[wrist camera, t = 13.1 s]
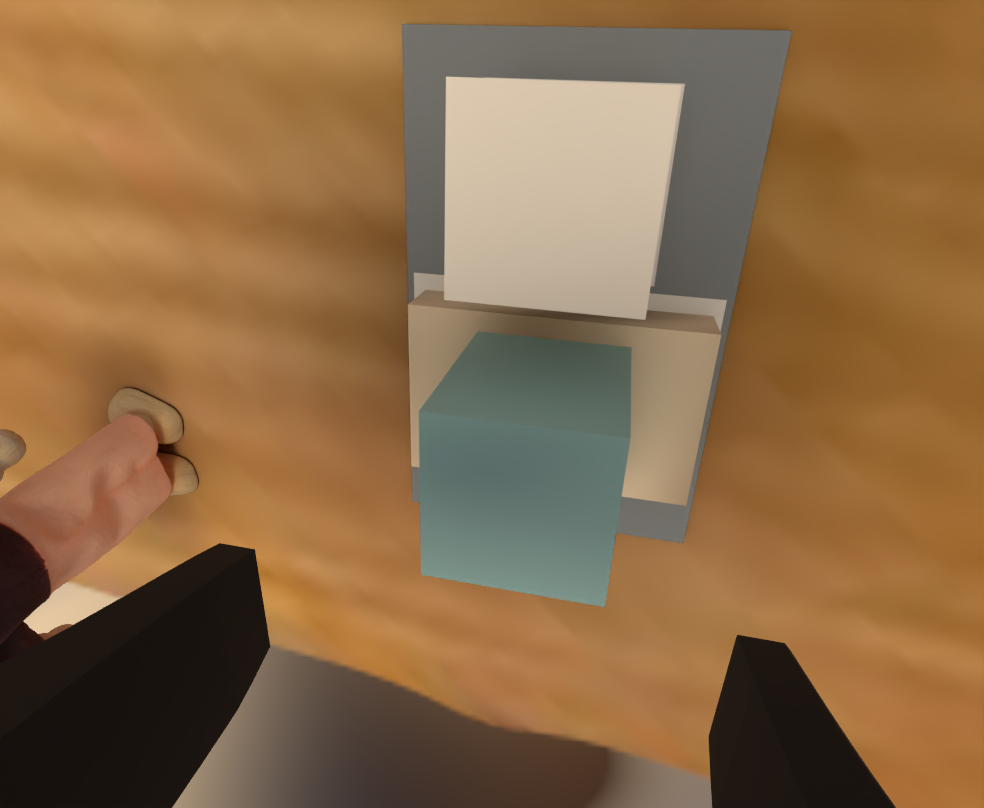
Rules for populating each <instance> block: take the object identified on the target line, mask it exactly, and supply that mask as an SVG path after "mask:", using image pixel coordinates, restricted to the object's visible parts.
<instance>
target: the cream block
mask: <svg viewBox="0 0 984 808" xmlns="http://www.w3.org/2000/svg"><path fill="white" fill-rule="evenodd" d="M681 86H682V85H664V84H636V83H609V82H582V81H554V80H527V79H499V78H472V77H446V134H445V254H444V300H451V301H461V302H471V303H481V304H491V305H501V306H511V307H521V308H531V309H541V310H551V311H561V312H571V313H581V314H591V315H601V316H611V317H621V318H631V319H641V320H645V319H646V313H647V307H648V300H649V294H650V287H651V281H652V274H653V268H654V261H655V255H656V248H657V242H658V235H659V229H660V222H661V216H662V209H663V203H664V196H665V190H666V184H667V177H668V171H669V164H670V158H671V151H672V145H673V138H674V132H675V125H676V119H677V112H678V106H679V99H680V93H681Z"/></svg>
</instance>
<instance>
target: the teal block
mask: <svg viewBox="0 0 984 808" xmlns="http://www.w3.org/2000/svg"><path fill="white" fill-rule="evenodd" d="M631 350H632V347H623V346H614V345H604V344H595V343H585V342H575V341H566V340H556V339H546V338H537V337H527V336H518V335H508V334H498V333H489V332H479V331H478V332H477V333H476V334H475V336H474V337H473V338H472V340H471V341H470V342H469V344H468V345H467V346H466V348H465V349H464V351H463V352H462V353H461V355H460V356H459V357H458V359H457V360H456V361H455V363H454V364H453V365H452V367H451V368H450V370H449V371H448V372H447V374H446V375H445V376H444V378H443V379H442V380H441V382H440V383H439V384H438V386H437V387H436V389H435V390H434V391H433V393H432V394H431V395H430V397H429V398H428V399H427V401H426V402H425V403H424V405H423V406H422V408H421V409H420V410H419V465H420V531H421V575H425V576H431V577H437V578H442V579H448V580H454V581H460V582H465V583H471V584H477V585H482V586H488V587H494V588H499V589H505V590H511V591H516V592H522V593H528V594H533V595H539V596H545V597H551V598H556V599H562V600H568V601H573V602H579V603H585V604H590V605H596V606H602V607H605V602H606V596H607V589H608V583H609V576H610V570H611V563H612V556H613V550H614V543H615V537H616V530H617V524H618V517H619V510H620V504H621V497H622V491H623V484H624V478H625V471H626V465H627V458H628V451H629V445H630V435H631Z"/></svg>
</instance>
